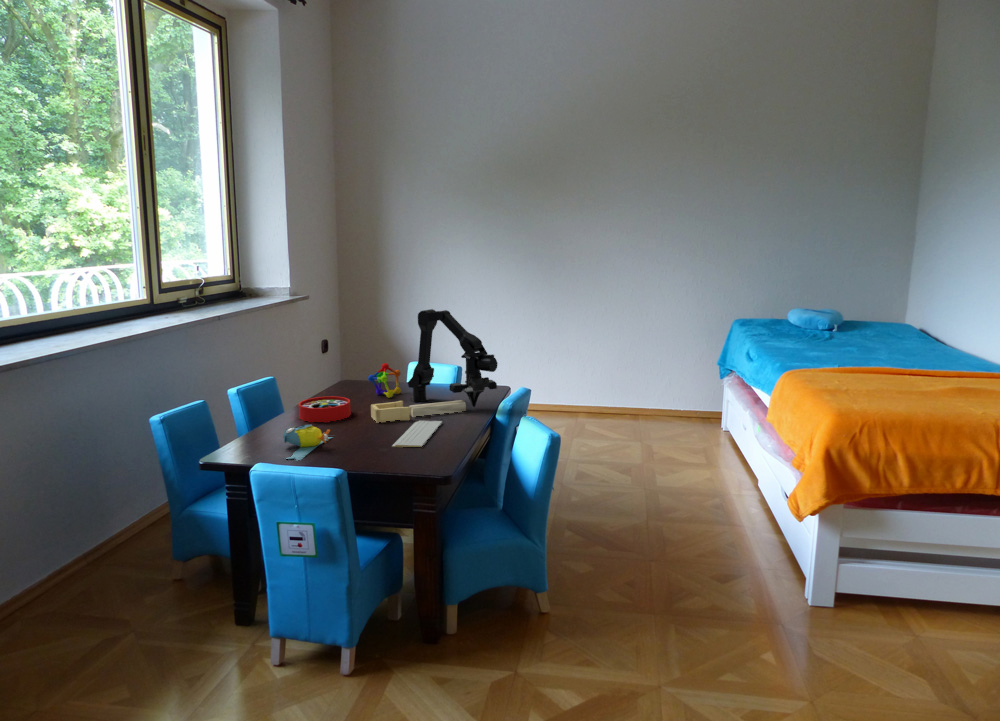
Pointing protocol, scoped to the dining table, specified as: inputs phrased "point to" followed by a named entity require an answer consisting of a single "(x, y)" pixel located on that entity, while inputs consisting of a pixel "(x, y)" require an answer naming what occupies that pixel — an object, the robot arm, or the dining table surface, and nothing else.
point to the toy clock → (324, 409)
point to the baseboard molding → (417, 434)
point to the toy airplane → (305, 439)
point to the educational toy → (385, 380)
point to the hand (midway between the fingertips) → (473, 406)
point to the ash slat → (437, 408)
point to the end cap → (390, 412)
